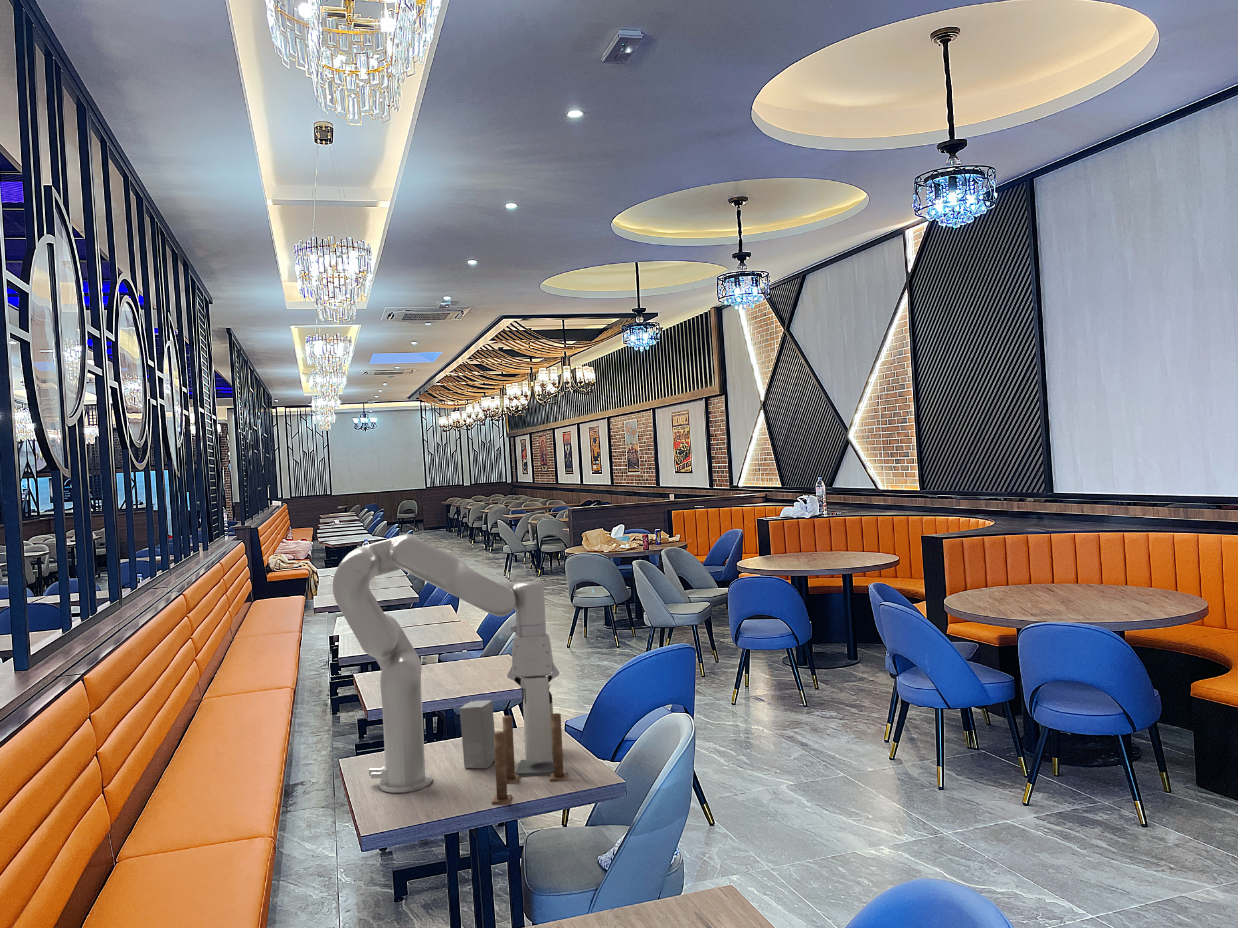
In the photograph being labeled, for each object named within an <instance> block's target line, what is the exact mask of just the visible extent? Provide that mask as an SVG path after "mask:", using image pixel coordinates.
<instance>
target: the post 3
mask: <svg viewBox="0 0 1238 928" xmlns="http://www.w3.org/2000/svg"><path fill="white" fill-rule="evenodd" d="M551 726H552V747H553V751H552V758H553V768H554V773H551V775H550V778H549V782H562V781H561V780H566V779H567V780H568V776H567V775H568V774H569V773H568V772H564V756H563V754H564V753H563V739H562V738H563V737H562V731H563V730H562V714H561V713H559V712H558V713H553V714H551ZM567 780H566V781H567Z"/></svg>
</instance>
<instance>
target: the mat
mask: <svg viewBox="0 0 1238 928" xmlns="http://www.w3.org/2000/svg"><path fill="white" fill-rule="evenodd" d="M551 773H554V768H553V757H552V761H542V762H536V761H528V760H527V759H520V762H519V764H518V766H517V769H516V770H515V775H519V776H520V777H533V776H535V777H536V776H551Z"/></svg>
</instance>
